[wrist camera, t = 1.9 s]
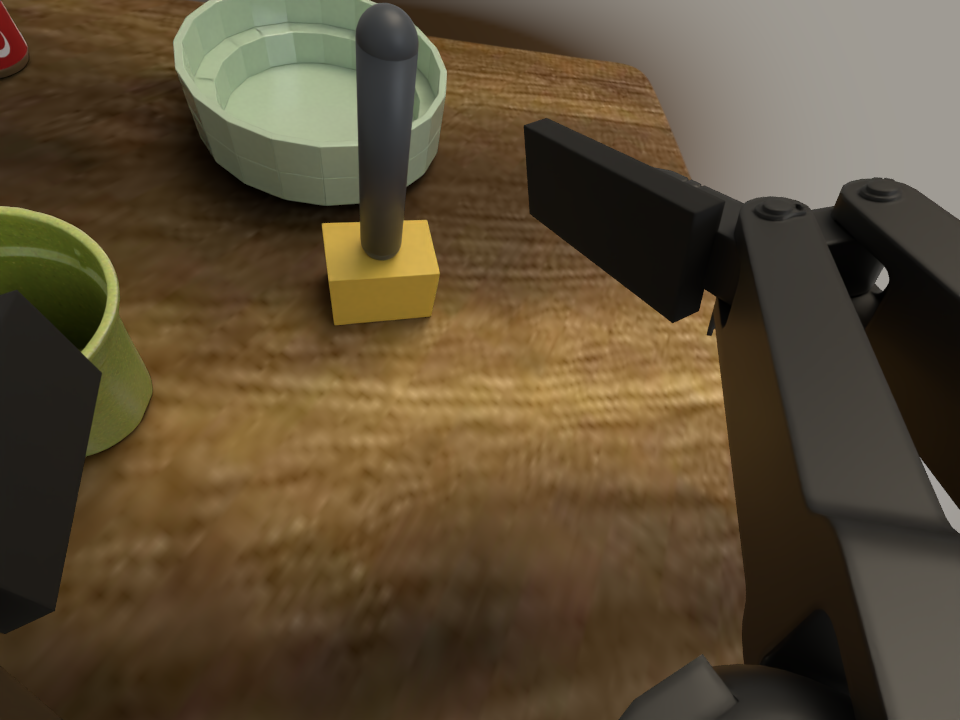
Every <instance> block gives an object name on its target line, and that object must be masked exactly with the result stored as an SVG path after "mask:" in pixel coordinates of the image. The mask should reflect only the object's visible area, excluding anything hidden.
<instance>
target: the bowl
mask: <svg viewBox="0 0 960 720" xmlns="http://www.w3.org/2000/svg"><path fill="white" fill-rule="evenodd" d="M375 4H377V3H375V2H372V1H370V0H209V1H207V2H206V3H205V4H203V5H202V6H201V7H199V8H198V9H196V10H195V11H194V12H192V13H191V14H189V15H188V16H187V17H186V18H185V20H184V22H183V24H182V25H181V27H180V29H179V31H178V33H177V35H176V37H175V38H174V41H173V46H174V60H175V69H176V72H177V75H178V78H179V80H180V83H181V86H182V89H183V91H184V94H185V97H186V100H187V103H188V105H189V108H190V111H191V114H192V116H193V119H194V122H195V125H196V127H197V130H198V133H199V136H200V137H201V139H202V141H203V142H204V144H205V145H206V147H207V148H208V150H209V152H210V153H211V155H212V156H213V158H214V160H215V161H216V162H217V163H218V164H219V165H221V166H222V167H223V168H225V169H226V170H227V171H229V172H230V173H231V174H233V175H234V176H235V177H236V178H238V179H239V180H240V181H242V182H243V183H244V184H247V185H249V186H251V187H254V188H256V189H259V190H261V191H264V192H266V193H269V194H271V195H274V196H276V197H279V198H281V199H284V200H290V201H297V202H303V203H310V204H316V205H323V206H332V205H345V204H359V203H360V202H359V162H358V122H357V83H356V43H355V35H356V27H357V24H358V21H359V19H360V17H361V15H362V14H363V13H364V12H365V11H366V9H368V8H369V7H371V6H373V5H375ZM414 26H415V25H414ZM415 28H416V31H417V35H418V41H419V49H418V61H417V72H416V83H415V95H414V106H413V118H412V129H411V140H410V152H409V163H408V175H407V186H409V185H410V184H411V183H413V182H414V181H415V180H417V179H418V178H419V177H421V176H422V175H424V173H425V172H426V170H427V168H428V167H429V165H430V163H431V162H432V160H433V158H434V157H435V155H436V153H437V150H438V143H439V136H440V130H441V123H442V116H443V110H444V103H445V96H446V81H447V71H446V68H445V66H444V64H443V61H442V59H441V57H440V54H439V52H438V50H437V48H436V47H435V46H434V45H433V44H432V42H431V41H430V40H429V39H428V38H427V37H426V36H425V35H424V34H423V33H422V32H421V31H420V29H419V28H417V27H416V26H415ZM407 186H406V187H407Z"/></svg>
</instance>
